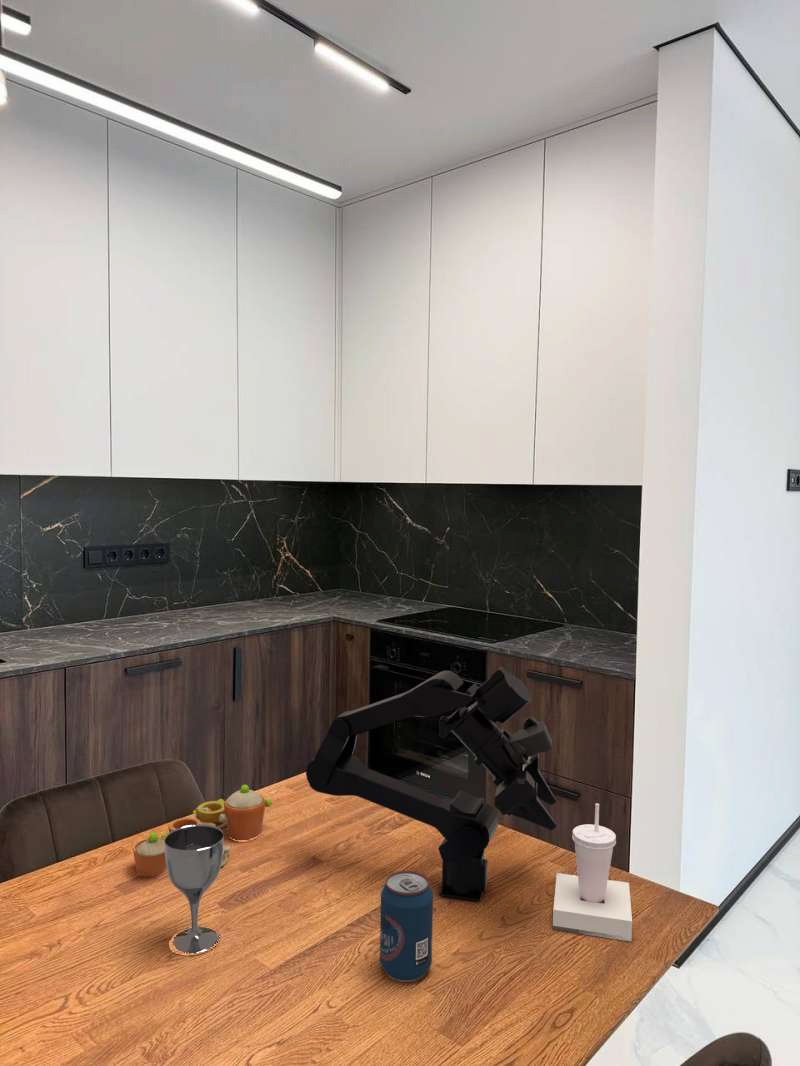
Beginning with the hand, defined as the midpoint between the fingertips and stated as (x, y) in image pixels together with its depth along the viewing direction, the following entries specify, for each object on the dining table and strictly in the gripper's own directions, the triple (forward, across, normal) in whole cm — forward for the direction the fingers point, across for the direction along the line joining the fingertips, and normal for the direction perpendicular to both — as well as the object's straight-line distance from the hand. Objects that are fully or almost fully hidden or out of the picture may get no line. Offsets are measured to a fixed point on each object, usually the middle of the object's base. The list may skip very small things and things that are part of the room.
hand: (554, 815), depth 119 cm
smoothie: (+12, -3, +4) cm, 13 cm away
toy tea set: (-32, +4, +52) cm, 62 cm away
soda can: (-4, -22, +23) cm, 32 cm away
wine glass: (-25, -22, +44) cm, 56 cm away
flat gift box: (+14, -3, +5) cm, 15 cm away
